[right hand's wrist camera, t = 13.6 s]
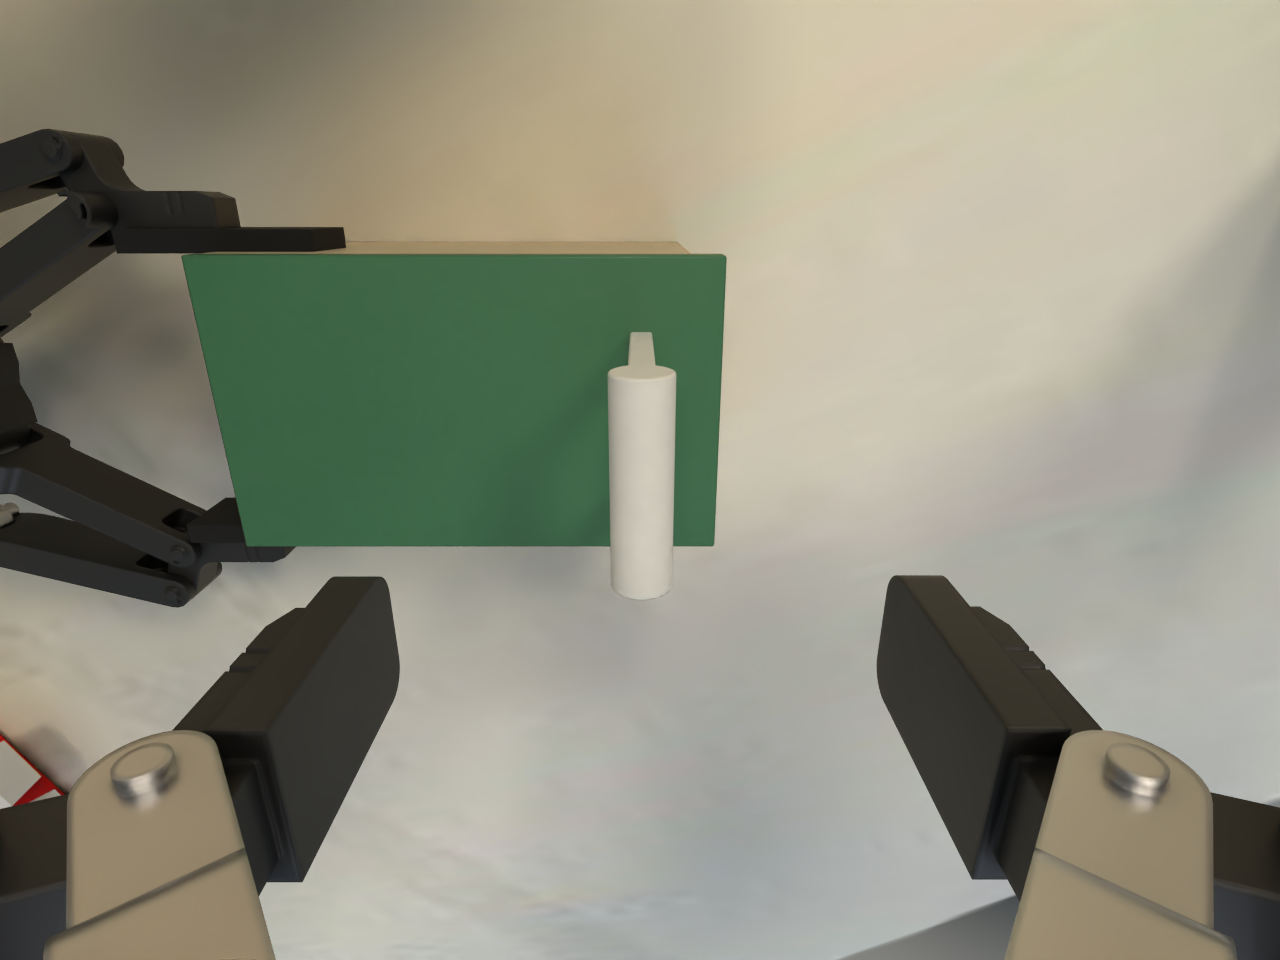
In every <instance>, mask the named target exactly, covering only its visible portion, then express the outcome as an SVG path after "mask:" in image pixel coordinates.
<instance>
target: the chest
mask: <svg viewBox="0 0 1280 960" xmlns="http://www.w3.org/2000/svg"><path fill="white" fill-rule="evenodd" d="M201 254H691V253H690V252H689V251H687V250H686V249H685V248H684V247H683V246H681V245H680V244H679V243H678V242H346V248H340V249H333V250H325V251H317V252H209V253H201Z"/></svg>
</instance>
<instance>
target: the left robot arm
mask: <svg viewBox="0 0 1280 960" xmlns="http://www.w3.org/2000/svg"><path fill="white" fill-rule="evenodd" d="M123 165H124V156H123V153H122V150H121V148H120V147H119V146H118V144H117V143H116V142H114V141H113V140H112V139H110V138H107V137H104V136H97V135H89V134H82V133H75V132H68V131H60V130H53V129H42V130H39V131H36V132H33V133H30V134H27V135H24V136H21V137H19V138H16V139H13V140H10V141H7V142H4V143H1V144H0V212H3V211H6V210H9V209H12V208H15V207H18V206H21V205H24V204H27V203H30V202H33V201H36V200H39V199H42V198H45V197H48V196H51V195H54V194H56V193H57V194H58V195H59V196H67V197H68V198H67V200H65V201H64V202H63V203H61V204H60V205H58V206H57V207H56V208H54V209H53V210H52V211H50V212H49V213H48V214H46V215H45V216H44V217H42V218H41V219H39V220H38V221H37V222H35V223H34V224H33V225H31V226H30V227H29V228H27V229H26V230H25V231H23V232H22V233H20V234H19V235H18V236H16V237H15V238H14V239H12V240H11V241H10V242H8V243H7V244H5V245H4V246H3V247H1V248H0V494H14V495H17V496H20V497H22V498H24V499H27V500H29V501H31V502H33V503H35V504H38V505H40V506H42V507H44V508H47V509H49V510H51V511H53V512H56V513H58V514H60V515H62V516H65V517H67V518H69V519H71V520H74V521H71V520H67V519H63V518H59V517H55V516H50V515H45V514H38V513H19V512H20V511H19V508H18V506H17V505H15V504H13V503H6V504H4V505H1V504H0V567H3V568H8V569H12V570H16V571H20V572H25V573H29V574H33V575H38V576H42V577H46V578H50V579H55V580H59V581H63V582H68V583H72V584H76V585H80V586H85V587H89V588H93V589H98V590H102V591H106V592H110V593H115V594H119V595H123V596H128V597H132V598H136V599H140V600H145V601H149V602H153V603H158V604H162V605H166V606H170V607H181V606H184V605H185V604H186V603H187V602H189V601H190V600H191V599H192V598H194V597H195V596H196V595H197V594H198V593H199V592H200V591H202V590H203V589H204V588H205V587H206V586H207V585H209V584H210V583H211V582H212V581H213V580H214V579H215V578H216V577H217V576H219V575H220V574H221V571H222V564H221V563H220V562H248V561H249V562H275V561H277V560H280V559H283V558H285V557H286V556H287V555H288V554H289V553H290V552H291V551H292V550H293V549H294V548H295V547H296V546H247V545H246V541H245V536H244V532H243V528H242V523H241V519H240V514H239V510H238V505H237V501H236V498H225V499H223V500H222V501H220V502H219V503H218V504H216V505H215V506H213V507H212V508H210V509H209V510H207V511H206V510H204V509H202V508H200V507H198V506H196V505H193V504H191V503H189V502H187V501H185V500H183V499H180V498H178V497H176V496H174V495H172V494H170V493H168V492H165V491H163V490H161V489H159V488H157V487H155V486H152V485H150V484H148V483H146V482H144V481H142V480H140V479H137V478H135V477H133V476H131V475H129V474H127V473H124V472H122V471H120V470H118V469H116V468H114V467H112V466H109V465H107V464H105V463H103V462H101V461H99V460H96V459H94V458H92V457H90V456H88V455H86V454H84V453H81V452H79V451H77V450H75V449H73V448H71V446H70V440H69V439H68V438H66V437H65V436H62V435H60V434H58V433H56V432H54V431H52V430H50V429H47V428H45V427H43V426H41V425H39V424H37V423H36V422H37V419H36V415H35V412H34V409H33V406H32V403H31V401H30V400H29V398H28V396H27V395H26V393H25V391H24V390H23V388H22V386H21V385H20V380H19V363H18V359H17V356H16V353H15V350H14V347H13V344H12V343H4V342H3V340H2V339H1V337H2V336H4V335H5V334H6V333H8V332H9V331H11V330H12V329H14V328H15V327H16V326H18V325H19V324H21V323H22V322H23V321H25V320H26V319H28V318H29V317H30V316H31V313H30V311H31V310H32V309H34V308H35V307H37V306H38V305H39V304H41V303H42V302H44V301H45V300H47V299H48V298H49V297H51V296H52V295H54V294H55V293H56V292H58V291H59V290H61V289H62V288H64V287H65V286H66V285H68V284H69V283H71V282H72V281H73V280H75V279H76V278H78V277H79V276H81V275H82V274H83V273H85V272H86V271H88V270H89V269H90V268H92V267H93V266H95V265H96V264H98V263H99V262H100V261H102V260H103V259H105V258H106V257H107V256H109V255H110V254H112V253H113V252H115V251H116V252H117V253H209V252H317V251H325V250H333V249H340V248H346V242H345V235H344V228H343V227H240V221H239V216H238V211H237V206H236V201H235V198H233V197H230V196H228V195H225V194H223V193H220V192H203V191H144V190H142V189H140V188H138V187H137V186H135V185H134V184H133V183H132V182H131V181H130V179H129V178H128V176H127V175H126V173H125V171H124V170H123V168H122V167H123ZM68 190H69V191H68Z"/></svg>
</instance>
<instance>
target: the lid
mask: <svg viewBox="0 0 1280 960" xmlns="http://www.w3.org/2000/svg"><path fill="white" fill-rule="evenodd" d="M182 261H183V266H184V270H185V275H186V279H187V284H188V288H189V292H190V297H191V301H192V306H193V310H194V315H195V319H196V323H197V328H198V332H199V337H200V341H201V346H202V350H203V355H204V359H205V363H206V368H207V372H208V377H209V381H210V386H211V390H212V394H213V399H214V403H215V408H216V412H217V417H218V421H219V426H220V430H221V434H222V439H223V443H224V448H225V452H226V457H227V461H228V465H229V470H230V474H231V479H232V483H233V488H234V492H235V497H236V501H237V505H238V510H239V514H240V519H241V523H242V528H243V532H244V536H245V541H246V545H247V546H610V550H611V586H612V588H613V590H614V591H615V592H616V593H617V594H619V595H620V596H622V597H625V598H628V599H633V600H650V599H655V598H658V597H661V596H663V595H665V594H666V593H668V592H669V590H670V589H671V587H672V570H673V546H713V545H714V536H715V513H716V490H717V467H718V443H719V420H720V397H721V374H722V351H723V328H724V304H725V281H726V256H725V255H723V254H189V255H183V256H182Z"/></svg>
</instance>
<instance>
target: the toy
mask: <svg viewBox="0 0 1280 960" xmlns="http://www.w3.org/2000/svg"><path fill="white" fill-rule="evenodd" d="M61 795H65V794H64V793H63V792H62V791H61V790H60V789H59V788H58V787H56V786H55V785H54V784H53V783H52V782H51V781H50V780H49V779H48V778H47V777H46V776H45V775H43V774H42V773H41V772H40V771H39V770H38V769H37V768H36V767H35V766H34V765H33V764H32V763H30V762H29V761H28V760H27V759H26V758H25V757H24V756H23V755H22V754H21V753H20V752H19V751H18V750H16V749H15V748H14V747H13V746H12V745H11V744H10V743H9V742H8V741H7V740H6V739H5V738H3V737H2V736H1V735H0V809H2V808H7V807H11V806H16V805H20V804H25V803H29V802H34V801H38V800H43V799H47V798H52V797H56V796H61Z"/></svg>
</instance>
